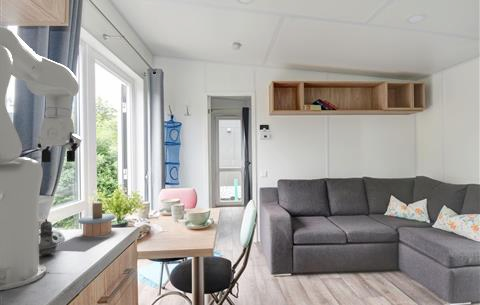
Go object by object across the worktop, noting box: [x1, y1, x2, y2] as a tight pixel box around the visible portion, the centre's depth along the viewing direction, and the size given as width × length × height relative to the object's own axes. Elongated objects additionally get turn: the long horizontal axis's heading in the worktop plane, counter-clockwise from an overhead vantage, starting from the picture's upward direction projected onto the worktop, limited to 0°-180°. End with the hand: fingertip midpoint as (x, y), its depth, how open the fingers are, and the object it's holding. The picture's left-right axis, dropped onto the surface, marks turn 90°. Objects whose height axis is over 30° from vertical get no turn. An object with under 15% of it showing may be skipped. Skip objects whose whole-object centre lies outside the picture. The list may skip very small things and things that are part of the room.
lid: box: [78, 201, 116, 225], centre depth 107 cm, size 13×13×7 cm
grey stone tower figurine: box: [39, 218, 59, 259], centre depth 83 cm, size 6×6×12 cm
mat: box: [54, 236, 111, 253], centre depth 94 cm, size 14×14×1 cm
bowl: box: [82, 221, 112, 237], centre depth 107 cm, size 10×10×6 cm
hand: (58, 161), depth 95 cm, fingers open, 9 cm apart
